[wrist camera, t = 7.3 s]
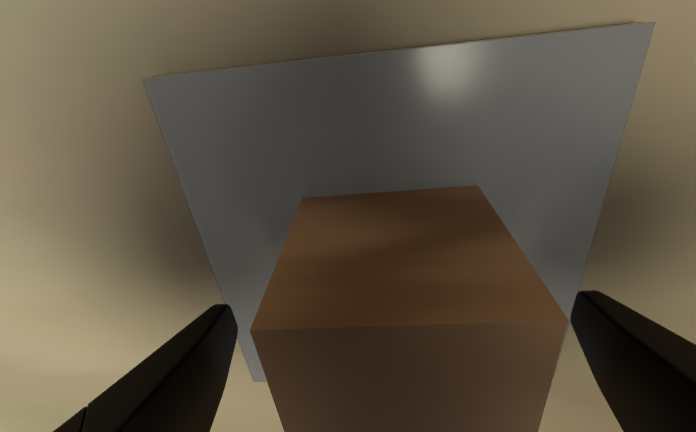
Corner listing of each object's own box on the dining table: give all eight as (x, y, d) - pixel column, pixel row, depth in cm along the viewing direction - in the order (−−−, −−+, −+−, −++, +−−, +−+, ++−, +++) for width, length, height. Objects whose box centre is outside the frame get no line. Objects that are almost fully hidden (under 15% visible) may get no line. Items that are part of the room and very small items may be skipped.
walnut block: (478, 185, 10) (568, 320, 5) (467, 316, 12) (523, 484, 8) (302, 197, 10) (249, 330, 6) (325, 321, 12) (301, 481, 8)
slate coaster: (636, 22, 8) (655, 21, 7) (546, 364, 14) (553, 377, 13) (154, 76, 9) (141, 79, 9) (257, 369, 15) (253, 381, 14)
